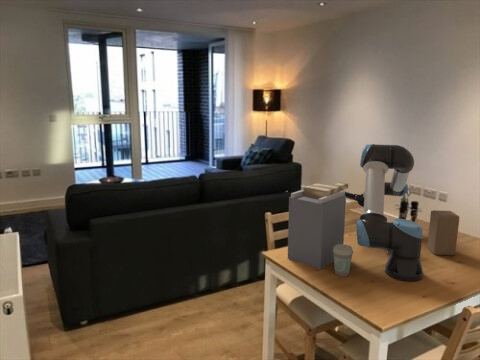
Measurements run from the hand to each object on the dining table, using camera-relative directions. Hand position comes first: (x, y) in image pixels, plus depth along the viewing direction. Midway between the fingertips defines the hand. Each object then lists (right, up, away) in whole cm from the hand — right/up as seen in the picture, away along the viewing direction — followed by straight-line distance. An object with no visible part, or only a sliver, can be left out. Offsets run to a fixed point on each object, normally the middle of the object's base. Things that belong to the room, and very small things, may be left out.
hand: (351, 192), depth 196 cm
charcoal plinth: (-21, -31, -14) cm, 40 cm away
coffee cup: (-13, -34, -31) cm, 48 cm away
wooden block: (+42, -29, -8) cm, 52 cm away
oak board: (-14, +1, -12) cm, 18 cm away
